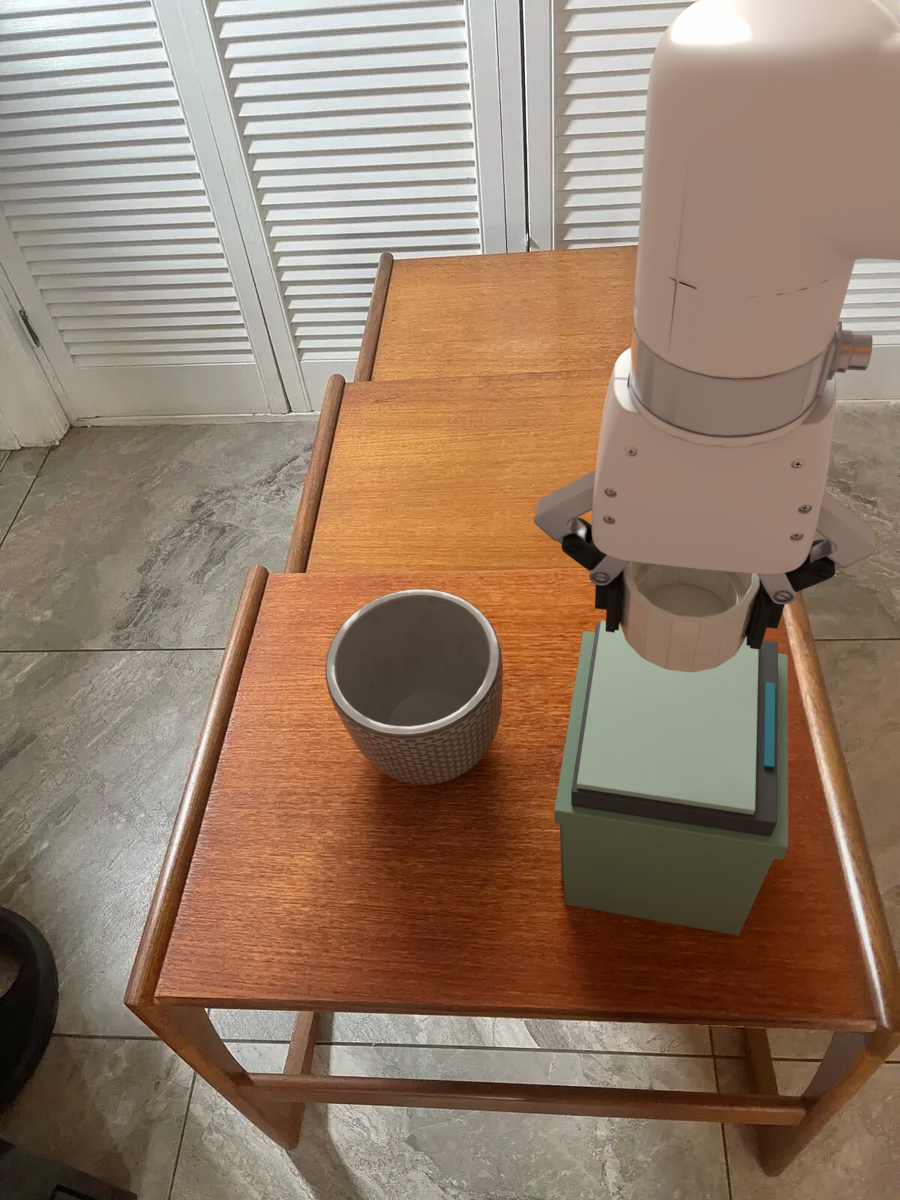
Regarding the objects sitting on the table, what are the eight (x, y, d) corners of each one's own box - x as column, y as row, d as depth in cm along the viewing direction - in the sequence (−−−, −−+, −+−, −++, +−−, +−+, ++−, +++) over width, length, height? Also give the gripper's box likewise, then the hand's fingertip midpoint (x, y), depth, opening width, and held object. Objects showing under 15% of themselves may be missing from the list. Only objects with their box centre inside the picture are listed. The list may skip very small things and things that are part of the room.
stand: (750, 768, 75) (788, 654, 62) (745, 937, 67) (788, 847, 54) (581, 744, 78) (583, 630, 65) (557, 903, 70) (554, 810, 57)
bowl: (746, 585, 52) (761, 526, 48) (743, 685, 48) (758, 630, 44) (626, 573, 53) (631, 515, 49) (613, 669, 49) (617, 614, 45)
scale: (772, 658, 62) (779, 636, 60) (771, 837, 54) (778, 819, 52) (596, 638, 64) (596, 616, 62) (571, 806, 57) (571, 787, 55)
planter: (338, 701, 84) (306, 618, 73) (480, 653, 85) (467, 566, 75) (378, 834, 75) (347, 762, 65) (534, 779, 77) (528, 699, 66)
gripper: (953, 308, 36) (847, 583, 50) (526, 292, 40) (538, 553, 54) (976, 436, 32) (852, 698, 46) (495, 405, 36) (516, 656, 50)
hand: (683, 618), depth 50 cm, fingers closed on bowl, 6 cm apart
